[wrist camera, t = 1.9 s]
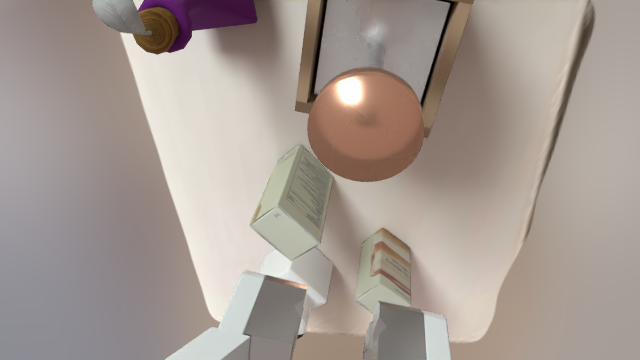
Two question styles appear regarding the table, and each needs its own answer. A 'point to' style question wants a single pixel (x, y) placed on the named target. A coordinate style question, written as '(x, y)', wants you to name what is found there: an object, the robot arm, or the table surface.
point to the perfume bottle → (172, 19)
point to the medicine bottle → (303, 277)
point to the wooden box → (437, 75)
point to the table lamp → (373, 85)
